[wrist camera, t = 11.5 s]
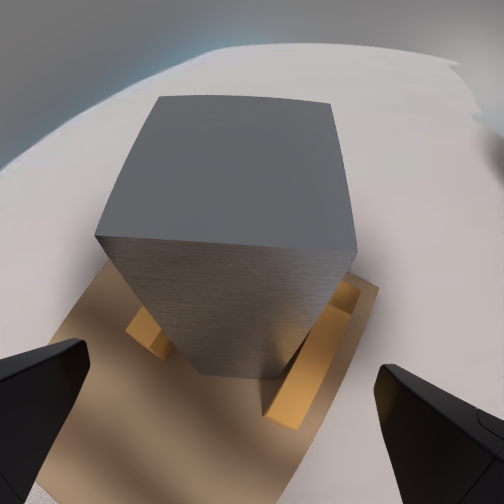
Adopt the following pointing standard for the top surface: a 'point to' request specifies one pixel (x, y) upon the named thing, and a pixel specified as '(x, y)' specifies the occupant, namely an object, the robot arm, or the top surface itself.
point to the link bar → (233, 227)
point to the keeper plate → (190, 407)
